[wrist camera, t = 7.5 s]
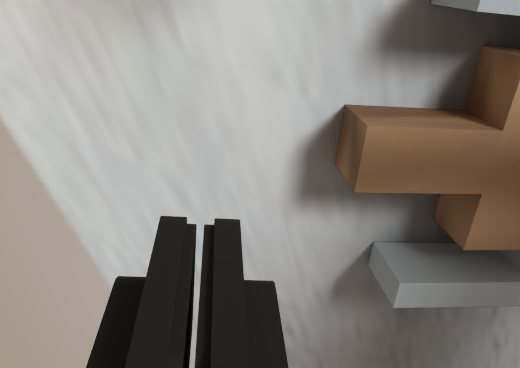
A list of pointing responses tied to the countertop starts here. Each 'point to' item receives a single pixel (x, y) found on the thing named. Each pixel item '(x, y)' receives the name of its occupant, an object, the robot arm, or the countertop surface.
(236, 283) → the robot arm
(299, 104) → the countertop surface
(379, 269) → the pocket
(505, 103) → the T block
